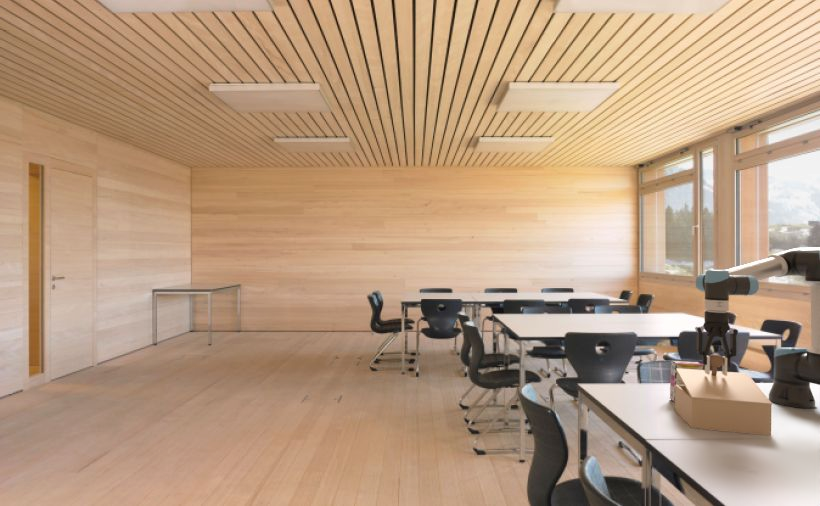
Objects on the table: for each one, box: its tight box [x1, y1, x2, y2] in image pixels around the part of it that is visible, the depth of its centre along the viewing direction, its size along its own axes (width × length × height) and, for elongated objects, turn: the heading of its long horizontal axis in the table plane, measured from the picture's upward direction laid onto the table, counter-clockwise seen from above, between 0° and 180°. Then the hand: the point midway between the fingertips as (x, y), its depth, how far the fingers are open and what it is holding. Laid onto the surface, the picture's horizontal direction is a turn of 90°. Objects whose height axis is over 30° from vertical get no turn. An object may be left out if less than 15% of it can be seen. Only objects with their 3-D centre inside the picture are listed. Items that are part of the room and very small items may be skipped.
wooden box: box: [674, 385, 772, 436], centre depth 173 cm, size 24×20×10 cm
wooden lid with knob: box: [676, 353, 773, 407], centre depth 171 cm, size 24×20×9 cm
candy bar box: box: [669, 360, 705, 403], centre depth 197 cm, size 11×5×16 cm, turn 84°
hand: (715, 373), depth 177 cm, fingers closed on wooden lid with knob, 5 cm apart
